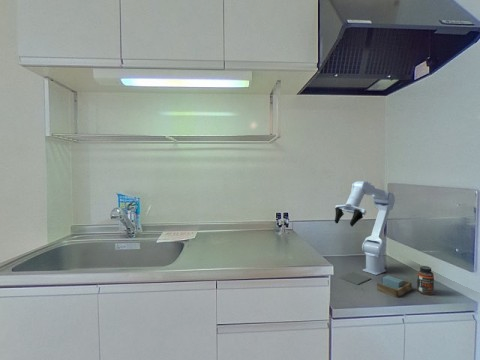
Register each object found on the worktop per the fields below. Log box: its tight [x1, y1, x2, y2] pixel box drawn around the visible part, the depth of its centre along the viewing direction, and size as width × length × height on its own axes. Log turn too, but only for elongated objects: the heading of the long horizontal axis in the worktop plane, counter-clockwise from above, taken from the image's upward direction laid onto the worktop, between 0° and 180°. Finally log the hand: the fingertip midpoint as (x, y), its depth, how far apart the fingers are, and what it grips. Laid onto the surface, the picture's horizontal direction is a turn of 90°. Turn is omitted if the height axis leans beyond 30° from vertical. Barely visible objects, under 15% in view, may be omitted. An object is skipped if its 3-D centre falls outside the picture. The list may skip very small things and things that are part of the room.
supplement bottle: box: [416, 265, 435, 296], centre depth 118 cm, size 6×6×11 cm
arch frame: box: [376, 280, 413, 298], centre depth 121 cm, size 13×9×3 cm
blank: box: [382, 275, 404, 289], centre depth 122 cm, size 4×7×5 cm, turn 33°
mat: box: [339, 271, 372, 286], centre depth 135 cm, size 11×10×1 cm
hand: (343, 223), depth 125 cm, fingers open, 7 cm apart
